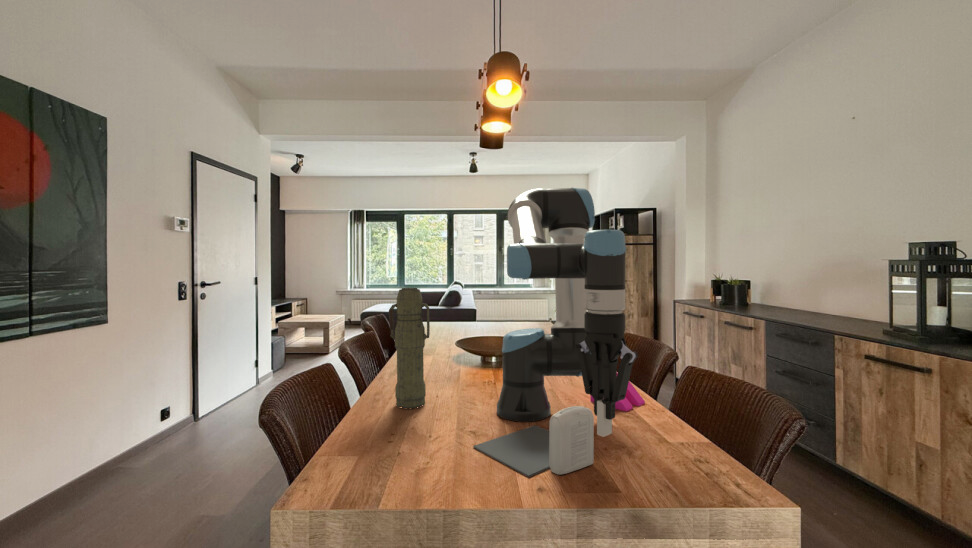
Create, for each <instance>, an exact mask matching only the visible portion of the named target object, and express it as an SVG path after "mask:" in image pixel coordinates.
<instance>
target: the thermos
mask: <svg viewBox="0 0 972 548" xmlns="http://www.w3.org/2000/svg"><path fill="white" fill-rule="evenodd" d="M395 307H396V316H397V319H396V325H395V323H394V322H395V317H394V315H395V313H394V312H395V311H394V309H395ZM424 307H425V309H426V327H425V325H424V323H423V308H424ZM388 314H389V315H388V316H389V336H390V338H392V340H394V348H395V349H396V378H397V379H396V384H395V388H394V389H395V390H394V391H395V392H394V393H395V394H394V395H395V399H396V402H395V406H396V405H397V406H398V407H402V408H416V409H418V408H417V407H420V406H422V405H424V404H425V405H426V394H427V393H426V388H427V387H426V381H425V378H424V376H425V375H424V370H425V369H424V368H425V367H424V349H425V345H426V342H425V341H426V340H427V339H430V334H431V333H430V329H431V328H430V307H429V305H428V304H427V303H424V302H423V296H422V292H421V290H420V288H418V287H401V288H400V289H399V290H398V293H397V295H396V303H394V304H392V305H391V306H390V307H389V313H388ZM394 325H395V326H394ZM425 329H426V331H425ZM425 405H424V406H425ZM397 406H396V407H397ZM398 407H397V408H398ZM422 407H423V406H422ZM420 408H421V407H420Z"/></svg>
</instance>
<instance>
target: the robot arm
mask: <svg viewBox="0 0 972 548" xmlns="http://www.w3.org/2000/svg"><path fill="white" fill-rule="evenodd" d="M595 215H596V213H595V205H594V199H593V196H592V195H591V193H590V191H589V190H588V189H586V188H577V187H564V188H559V187H556V188H554V187H553V188H552V187H551V188H542V187H541V188H532V189H530V190H527V191H525V192H523V193H521V194H519V195H518V196H516V197H515V199H513V200H512V201H511V204H510V205H509V207H508V210H507V221H508V224H509V226H510V227H511V228H512V238H513V243H510V244H508V245H507V247H506V273H507V276H508V277H509V278H510V279H522V280H531V279H533V280H535V279H538V280H539V279H541V280H542V279H554V283H555V285H554V288H555V289H554V291H555V293H554V294H555V319H556V320H555V322H554V323H553V325H552V326H551V327H550V333H545V330H544V329H543V328H539V327H538V328H534V327H532V328H531V327H530V328H521V329H516V330H513V331H510V332H507V333H505V335H504V336H503V338H502V348H501V352H502V387H501V391H500V395H499V399H498V401H497V402H496V414H497V415H498V417H500V418H503V419H506V420H508V421H514V422H521V423H523V422H537V421H542V420H545V419H547V418H548V417H550V415H551V409H552V408H551V404H550V401H549V399H548V394H547V391H546V387H545V377H578V378H579V377H582V383H583V389H584V392H585V394H586V395H590V397H591V396H592V397H593V399H594V403H593V413H594V414H593V415H595V416H596V436H599V437H602V438H604V437H607V436H609V435H612V434H613V419H615V418H616V409H615V403H616V402H617V401H620V400H623V399H625V396H626V392H627V387H628V383H629V381H630V378H631V374H632V369H633V364H634V363H635V361H636V360H637V358H638V357H639V354H638V352H637V351H634V350H633V351H632V350H631V349H630V348H629V347H628V346H627V342H626V339H625V333H626V332H625V331H626V314H625V313H624V311H625V310H626V252H627V246H626V236H625V235H626V234H625V233H624V232H623V231H622V230H620V229H594V230H593V229H592V230H590V229H591V228H593V227H594V225H595V221H596V218H595ZM544 229H548V236H549V237H550V238H551V239H552V240H553V242H552V243H551V242H549V243H548V242H547V240H546V236H545V232H544ZM619 357H620V362H619Z"/></svg>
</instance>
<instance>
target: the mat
mask: <svg viewBox="0 0 972 548" xmlns="http://www.w3.org/2000/svg"><path fill="white" fill-rule="evenodd" d="M473 447H474V448H473ZM472 448H473V449H475V448H476V449H475V450H477V451H479V452H480V451H481V454H482V453H483V454H484V455H486V456H488V457H490V458H492V459H494V461H495V460H496V461H497V462H499V463H500V464H503V465H505V466H506V467H508V468H509V469H512V470H514V471H516V472H518V473H520V474H521V475H523V476H525V477H527V478H530V477H533V476H535V475H537V474H539V473H543V472H544V471H547V470H550V469H551V468H550V466H549V429H546V428H543V427H541V426H538V425H536V424H535V425H531V426H528V427H525V428H522V429H519V430H517V431H513V432H510V433H507V434H504V435H502V436H498V437H496V438H492V439H490V440H487V441H484V442H481V443H478V444H475V445H472Z"/></svg>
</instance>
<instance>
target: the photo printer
mask: <svg viewBox="0 0 972 548" xmlns="http://www.w3.org/2000/svg"><path fill="white" fill-rule="evenodd" d="M593 413H594V412H593V411H592V410H591V409H590V408H588V407H586V406H582V405H573V406H569V407H565V408H563V409H560V410H559V411H557V412H555V413H554V414H552V416H551V417H550V419H549V422H548V423H549V425H548V426H549V428H548V430H549V466H550V468H549V469H550V471H551V473H553V474H555V475H560V476H561V475H565V474H569V473H573V472H575V471H578V470H581V469H583V468H586V467H588V466H591V465H593V464H594V460H595V459H594V458H595V457H594V452H595V448H594V446H595V445H594V443H595V442H594V441H595V440H594V439H595V436H594V435H595V434H594V429H595V427H594V426H595V417H594V414H593Z"/></svg>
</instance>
